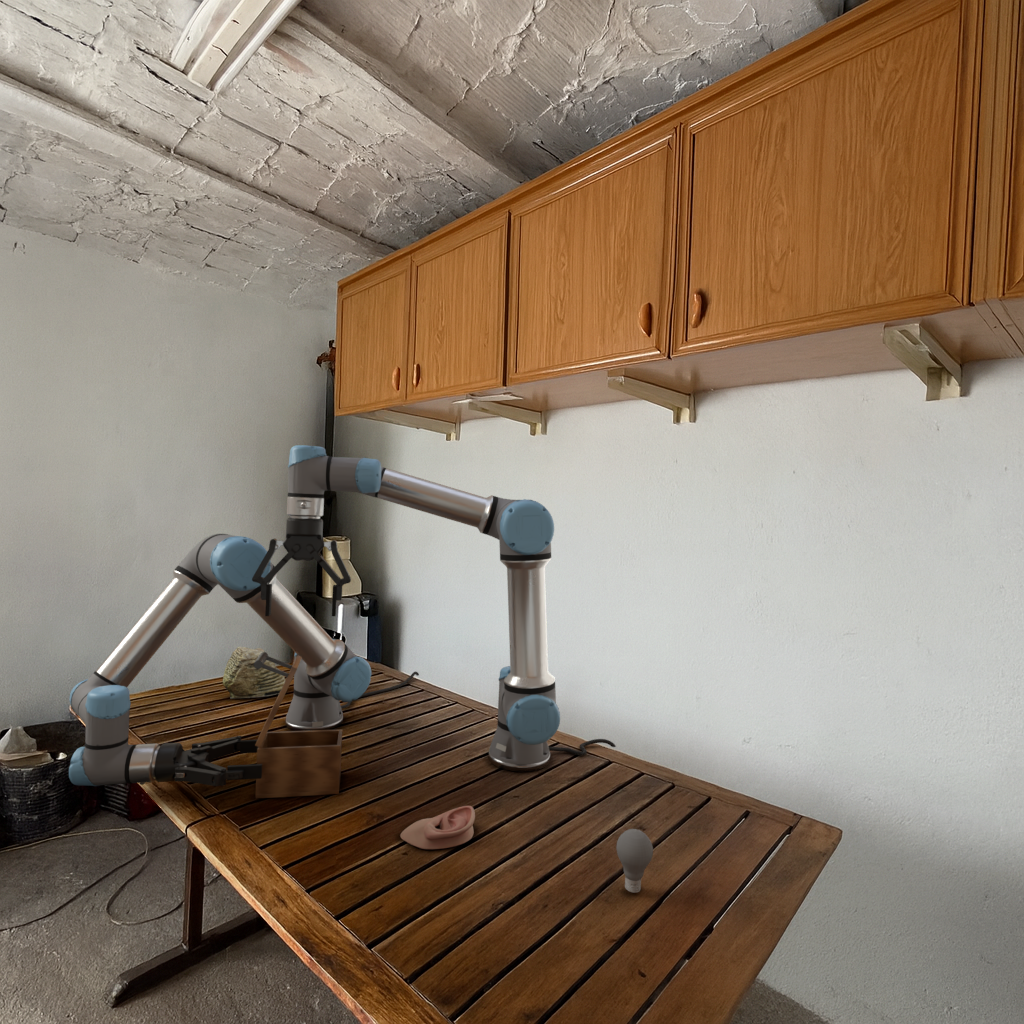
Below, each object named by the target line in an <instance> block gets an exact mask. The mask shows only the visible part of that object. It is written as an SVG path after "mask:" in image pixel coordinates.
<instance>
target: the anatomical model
mask: <svg viewBox="0 0 1024 1024" xmlns="http://www.w3.org/2000/svg"><path fill="white" fill-rule="evenodd" d="M475 820H476V812H475V809H474V807H473V806H471V805H463V806H459V807H455V808H452V809H450V810H447V811H445V812H443V813H440V814H439V815H436V816H434V817H427V818H422V819H419V820H417V821H415V822H413V823H412V824H410V825H409V826H407V827H406V828H405V829H404V830H402V832H401V833H400V835H399V836H400V838H401V840H403V841H404V842H406V843H408V844H409V845H411V846H413V847H416V848H419V849H422V850H440V849H447V848H454V847H457V846H460V845H463V844H465V843H467V842H469V841H471V839H472V838H473V836H474V833H475V832H474V826H473V824H474V823H475Z"/></svg>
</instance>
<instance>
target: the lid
mask: <svg viewBox="0 0 1024 1024" xmlns="http://www.w3.org/2000/svg"><path fill="white" fill-rule="evenodd" d="M301 658H302V657H301V656H298V655H297V657H296V659H295V658H294V661H293V664H292V665H291V664H290V663H287V662H284V661H281V660H280V659H276V658H274V657H271V656H269V654H268V653H267V652H266V651H264V652H262V653H260V655H259V656H258V658H257V659H256V661H255V662H254V667H255V668H256V669H260V668H261V667H262V668H264V669H267V670H269V671H272V672H275V673H277V674H280V675H283V676H284V677H285V682H284V684H283V687H282V689H281V691H280V693H279V694H277V697H276V699H275V702H274V703H273V705H272V708H271V710H270V712H269V713H268V716H267V718H266V720H265V723H264V725H263V726H262V729H261V731H260V733H259V735H258V738H257V739H256V740H257V742H256V744H255V746H258V747H260V746H261V744H262V742H263V740H264V738H265V736H266V733H267V732H269V729H270V727H271V726H272V723H273V721H274V718H275V716H277V715H276V714H277V713H278V711H279V708H280V706H281V704H282V702H283V700H284V698H285V696H286V694H287V691H288V689H289V687H290V686H291V683H292V681H293V680H294V675H295V672H296V670H297V668H298V666H299V663H300V661H301ZM266 660H268V661H271V662H273V663H275V665H277V666H280V667H281V666H282V667H283V668H287V669H288V670H289V671H288V672H286V671H284V670H281V669H279V668H278V669H276V668H277V667H276V668H273V667H271V666H268V665H265V664H264V663H265V661H266Z"/></svg>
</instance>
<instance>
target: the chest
mask: <svg viewBox="0 0 1024 1024" xmlns="http://www.w3.org/2000/svg"><path fill="white" fill-rule="evenodd" d="M342 749H343V729H329V730H311V731H295V730H286V731H267V733H266V736H265V738H264V740H263V742H262V744H261V746H260V747H258V749H257V753H256V764H262V777H261V779H255V800H256V799H273V798H275V799H276V798H289V797H307V796H308V797H309V796H325V795H326V796H327V795H339V794H340V784H341V776H342V775H341V773H342Z"/></svg>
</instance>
